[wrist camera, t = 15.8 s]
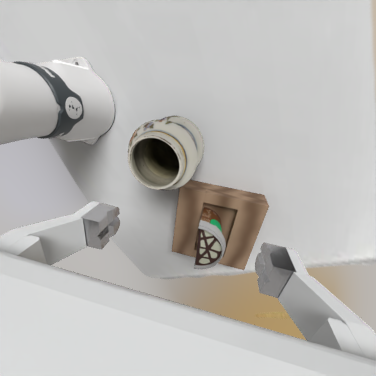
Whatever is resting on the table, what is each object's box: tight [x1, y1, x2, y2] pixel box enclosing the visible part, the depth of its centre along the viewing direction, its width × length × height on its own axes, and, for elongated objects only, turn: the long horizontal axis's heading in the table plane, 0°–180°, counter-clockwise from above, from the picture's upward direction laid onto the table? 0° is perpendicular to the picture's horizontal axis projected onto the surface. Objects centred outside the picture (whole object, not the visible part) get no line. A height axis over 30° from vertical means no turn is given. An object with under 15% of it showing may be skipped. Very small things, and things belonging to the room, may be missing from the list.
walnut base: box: [172, 180, 269, 270], centre depth 46 cm, size 20×20×6 cm
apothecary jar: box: [128, 116, 204, 190], centre depth 34 cm, size 12×12×18 cm
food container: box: [194, 207, 226, 269], centre depth 41 cm, size 12×6×10 cm, turn 176°
